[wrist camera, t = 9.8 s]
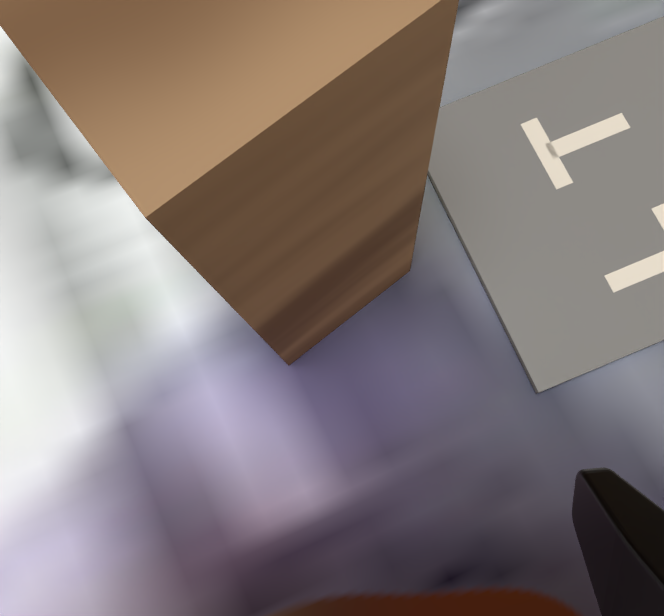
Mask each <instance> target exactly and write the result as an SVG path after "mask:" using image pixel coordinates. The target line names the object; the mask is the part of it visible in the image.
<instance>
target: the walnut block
mask: <svg viewBox="0 0 664 616" xmlns="http://www.w3.org/2000/svg"><path fill="white" fill-rule="evenodd" d="M458 2H459V0H0V26H1V27H2V29H3V30H4V31H5V32H6V34H7V35H8V36H9V38H10V39H11V40H12V42H13V43H14V44H15V46H16V47H17V48H18V50H19V51H20V52H21V54H22V55H23V56H24V58H25V59H26V60H27V62H28V63H29V64H30V66H31V67H32V68H33V70H34V71H35V72H36V74H37V75H38V76H39V78H40V79H41V80H42V82H43V83H44V84H45V85H46V87H47V88H48V89H49V91H50V92H51V93H52V95H53V96H54V97H55V99H56V100H57V101H58V103H59V104H60V105H61V107H62V108H63V109H64V111H65V112H66V113H67V115H68V116H69V117H70V119H71V120H72V121H73V123H74V124H75V125H76V127H77V128H78V129H79V131H80V132H81V133H82V135H83V136H84V137H85V138H86V140H87V141H88V142H89V144H90V145H91V146H92V148H93V149H94V150H95V152H96V153H97V154H98V156H99V157H100V158H101V160H102V161H103V162H104V164H105V165H106V166H107V168H108V169H109V170H110V172H111V173H112V174H113V176H114V177H115V178H116V180H117V181H118V182H119V184H120V185H121V186H122V188H123V189H124V190H125V191H126V193H127V194H128V195H129V197H130V198H131V199H132V201H133V202H134V203H135V205H136V206H137V207H138V209H139V210H140V211H141V213H142V214H143V215H144V217H145V218H146V219H147V220H148V221H149V222H150V223H151V224H152V225H153V226H154V227H155V228H156V229H157V230H158V231H159V232H160V233H161V234H162V235H163V236H164V237H165V239H166V240H167V241H168V242H169V243H170V244H171V245H172V246H173V247H174V248H175V249H176V250H177V251H178V252H179V253H180V254H181V255H182V256H183V257H184V258H185V259H186V260H187V261H188V262H189V263H190V264H191V265H192V266H193V267H194V268H195V269H196V270H197V271H198V273H199V274H200V275H201V276H202V277H203V278H204V279H205V280H206V281H207V282H208V283H209V284H210V285H211V286H212V287H213V288H214V289H215V290H216V291H217V292H218V293H219V294H220V295H221V296H222V297H223V298H224V299H225V300H226V301H227V302H228V303H229V304H230V306H231V307H232V308H233V309H234V310H235V311H236V312H237V313H238V314H239V315H240V316H241V317H242V318H243V319H244V320H245V321H246V322H247V323H248V324H249V325H250V326H251V327H252V328H253V329H254V330H255V331H256V332H257V333H258V334H259V335H260V336H261V337H262V338H263V340H264V341H265V342H266V343H267V344H268V345H269V346H270V347H271V348H272V349H273V350H274V351H275V352H276V353H277V354H278V355H279V356H280V357H281V358H282V359H283V360H284V361H285V362H286V363H287V364H288V365H290V364H291V363H293V362H294V361H295V360H297V359H298V358H299V357H300V356H302V355H303V354H304V353H305V352H307V351H308V350H309V349H311V348H312V347H313V346H314V345H316V344H317V343H318V342H320V341H321V340H322V339H323V338H325V337H326V336H327V335H328V334H330V333H331V332H332V331H334V330H335V329H336V328H337V327H339V326H340V325H341V324H343V323H344V322H345V321H346V320H348V319H349V318H350V317H351V316H353V315H354V314H355V313H357V312H358V311H359V310H360V309H362V308H363V307H364V306H366V305H367V304H368V303H369V302H371V301H372V300H373V299H374V298H376V297H377V296H378V295H380V294H381V293H382V292H383V291H385V290H386V289H387V288H389V287H390V286H391V285H392V284H394V283H395V282H396V281H397V280H399V279H400V278H401V277H403V276H404V275H405V274H406V273H408V272H409V271H410V267H411V261H412V256H413V250H414V245H415V239H416V234H417V228H418V223H419V217H420V212H421V206H422V201H423V195H424V190H425V184H426V179H427V173H428V168H429V162H430V157H431V151H432V146H433V140H434V134H435V129H436V123H437V118H438V112H439V107H440V101H441V96H442V90H443V85H444V79H445V74H446V68H447V63H448V57H449V52H450V46H451V41H452V35H453V30H454V24H455V19H456V13H457V8H458Z"/></svg>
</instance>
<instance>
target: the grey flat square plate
mask: <svg viewBox="0 0 664 616" xmlns="http://www.w3.org/2000/svg"><path fill="white" fill-rule="evenodd" d="M427 174H428V176H429V178H430V180H431V182H432V184H433V186H434V188H435V190H436V192H437V194H438V196H439V198H440V200H441V202H442V204H443V206H444V208H445V210H446V212H447V214H448V216H449V218H450V220H451V222H452V224H453V226H454V229H455V231H456V233H457V235H458V237H459V239H460V241H461V243H462V245H463V247H464V249H465V251H466V253H467V255H468V257H469V259H470V261H471V263H472V265H473V267H474V269H475V271H476V273H477V275H478V277H479V279H480V281H481V283H482V285H483V287H484V289H485V291H486V293H487V295H488V297H489V299H490V301H491V303H492V305H493V307H494V309H495V311H496V313H497V315H498V317H499V319H500V321H501V323H502V325H503V327H504V330H505V332H506V334H507V336H508V338H509V340H510V342H511V344H512V346H513V348H514V350H515V352H516V354H517V356H518V358H519V360H520V362H521V364H522V366H523V368H524V370H525V372H526V374H527V376H528V378H529V380H530V382H531V384H532V386H533V388H534V390H535V392H536V394H537V393H539V392H542V391H544V390H546V389H549V388H551V387H553V386H556V385H558V384H560V383H563V382H565V381H568V380H570V379H572V378H575V377H577V376H579V375H582V374H584V373H587V372H589V371H591V370H594V369H596V368H598V367H601V366H603V365H605V364H608V363H610V362H613V361H615V360H617V359H620V358H622V357H624V356H627V355H629V354H631V353H634V352H636V351H639V350H641V349H643V348H646V347H648V346H650V345H653V344H655V343H658V342H660V341H662V340H664V16H663V17H661V18H658V19H656V20H654V21H651V22H649V23H646V24H644V25H641V26H639V27H636V28H634V29H631V30H629V31H627V32H624V33H622V34H619V35H617V36H614V37H612V38H609V39H607V40H604V41H602V42H600V43H597V44H595V45H592V46H590V47H587V48H585V49H582V50H580V51H577V52H575V53H573V54H570V55H568V56H565V57H563V58H560V59H558V60H555V61H553V62H550V63H548V64H546V65H543V66H541V67H538V68H536V69H533V70H531V71H528V72H526V73H523V74H521V75H519V76H516V77H514V78H511V79H509V80H506V81H504V82H501V83H499V84H496V85H494V86H492V87H489V88H487V89H484V90H482V91H479V92H477V93H474V94H472V95H469V96H467V97H464V98H462V99H460V100H457V101H455V102H452V103H450V104H447V105H445V106H442V107H440V108H439V112H438V118H437V123H436V129H435V134H434V140H433V146H432V151H431V157H430V162H429V168H428V173H427Z"/></svg>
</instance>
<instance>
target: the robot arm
mask: <svg viewBox="0 0 664 616" xmlns="http://www.w3.org/2000/svg"><path fill="white" fill-rule="evenodd" d="M572 518H573V523H574V527H575V531H576V534H577V537H578V540H579V544H580V547H581V550H582V553H583V557H584V560H585V563H586V566H587V569H588V573H589V576H590V579H591V582H592V586H593V589H594V592H595V595H596V598H597V602H598V605H599V608H600V611H601V614H602V616H664V510H663V509H661V508H660V507H659V506H657V505H656V504H655V503H654V502H652V501H651V500H650V499H648V498H647V497H646V496H645V495H643V494H642V493H641V492H639V491H638V490H637V489H636V488H634V487H633V486H632V485H630V484H629V483H628V482H626V481H625V480H624V479H623V478H621V477H620V476H619V475H617V474H616V473H615V472H614V471H612V470H610V469H608V468H594V469H583V470H580V471H579V472H578V473H577V475H576V480H575V489H574V497H573V506H572Z"/></svg>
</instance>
